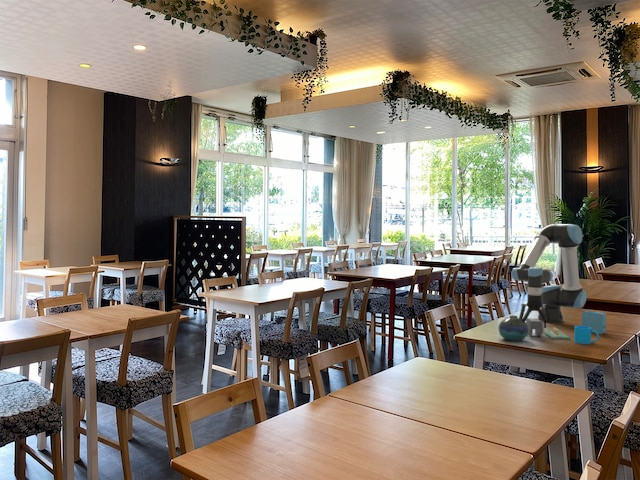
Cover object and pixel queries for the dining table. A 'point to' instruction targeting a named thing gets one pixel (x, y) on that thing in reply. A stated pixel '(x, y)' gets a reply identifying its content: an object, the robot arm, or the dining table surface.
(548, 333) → the header board
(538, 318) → the robot arm
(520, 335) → the vase
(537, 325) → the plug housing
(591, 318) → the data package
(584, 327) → the mug
